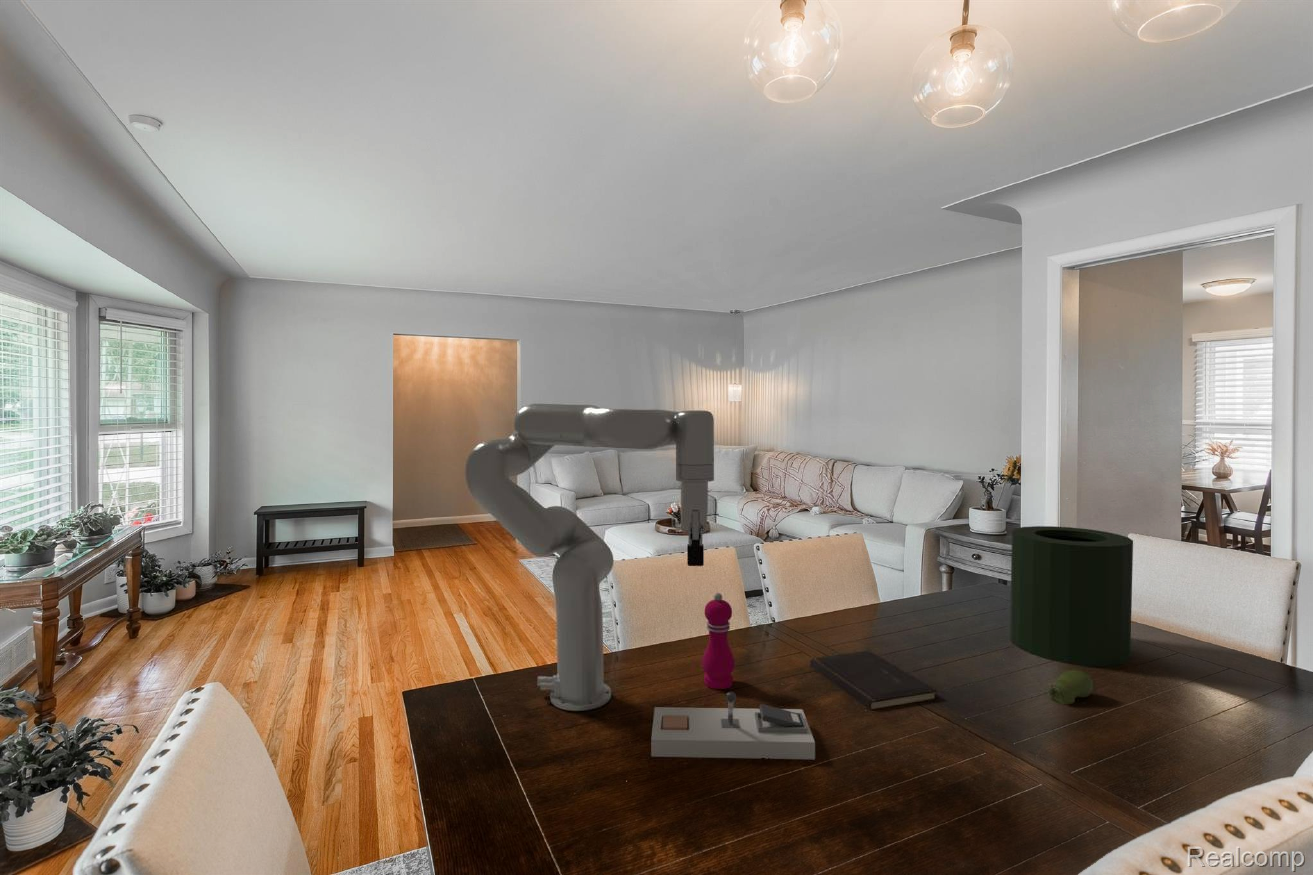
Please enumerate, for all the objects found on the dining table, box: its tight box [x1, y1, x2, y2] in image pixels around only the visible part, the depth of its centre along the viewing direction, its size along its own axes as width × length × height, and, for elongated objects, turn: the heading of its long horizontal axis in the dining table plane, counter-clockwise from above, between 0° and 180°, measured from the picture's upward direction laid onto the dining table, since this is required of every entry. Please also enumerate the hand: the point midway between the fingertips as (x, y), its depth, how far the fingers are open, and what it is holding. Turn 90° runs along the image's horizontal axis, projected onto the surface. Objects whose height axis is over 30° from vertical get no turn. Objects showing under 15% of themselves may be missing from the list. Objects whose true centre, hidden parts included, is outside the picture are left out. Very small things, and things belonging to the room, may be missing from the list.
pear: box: [1048, 669, 1094, 706], centre depth 131 cm, size 6×5×10 cm
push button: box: [663, 715, 687, 730], centre depth 116 cm, size 4×4×3 cm
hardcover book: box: [809, 650, 938, 711], centre depth 140 cm, size 16×23×2 cm
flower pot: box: [1009, 525, 1134, 668], centre depth 159 cm, size 25×25×28 cm
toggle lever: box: [725, 691, 737, 724], centre depth 114 cm, size 2×2×7 cm
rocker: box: [759, 703, 802, 727], centre depth 115 cm, size 7×4×1 cm, turn 88°
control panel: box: [650, 706, 816, 760], centre depth 116 cm, size 28×12×4 cm, turn 87°
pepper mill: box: [701, 592, 736, 690], centre depth 139 cm, size 7×7×20 cm
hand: (695, 564), depth 127 cm, fingers closed
